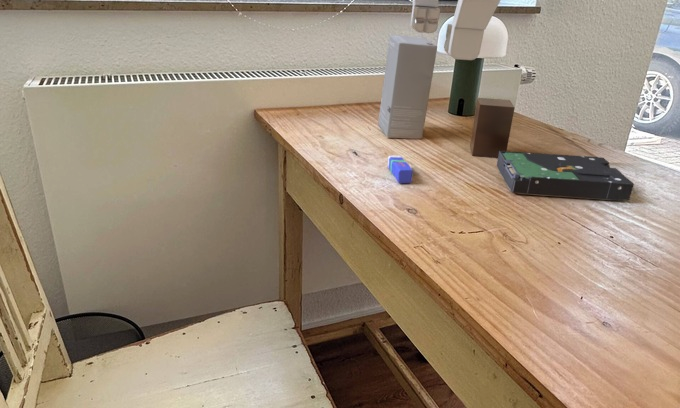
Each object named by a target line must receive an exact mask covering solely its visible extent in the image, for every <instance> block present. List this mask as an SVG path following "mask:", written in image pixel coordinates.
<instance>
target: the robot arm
mask: <svg viewBox="0 0 680 408" xmlns="http://www.w3.org/2000/svg"><path fill="white" fill-rule="evenodd" d="M500 2H501V0H457V4H456V8H455V11H454V15H453V18H452V21H451V23H448V24H447V27H446V33H445V41H444V43H443V44H444V45H443V49H444V52H445V53H446V54H447V55H449V56H450V58H451V57H452V59H454V60H461V61H462V60H463V61H475V59H477V58H478V57H479V55H480V53H481V47H482V42H483V39H484V34H485V30H486V29H487V27H488V25H489V23H490V22H491V20H492V18H493V16H494V13H495V12H496V10H497V9H498V8H497V7H498V6H499V4H500ZM440 14H441V8H439V0H412V7H411V16H410V23H409V24H410V27H411V28H412V30H414V31H416V32H418V33H423V34H424V33H425V34H434V33H435V32H436V31H437V30H438V26H439V19H440Z"/></svg>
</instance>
